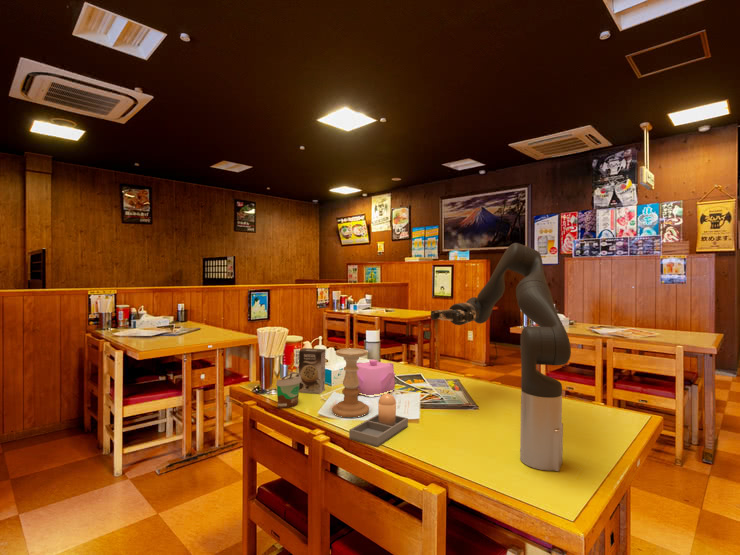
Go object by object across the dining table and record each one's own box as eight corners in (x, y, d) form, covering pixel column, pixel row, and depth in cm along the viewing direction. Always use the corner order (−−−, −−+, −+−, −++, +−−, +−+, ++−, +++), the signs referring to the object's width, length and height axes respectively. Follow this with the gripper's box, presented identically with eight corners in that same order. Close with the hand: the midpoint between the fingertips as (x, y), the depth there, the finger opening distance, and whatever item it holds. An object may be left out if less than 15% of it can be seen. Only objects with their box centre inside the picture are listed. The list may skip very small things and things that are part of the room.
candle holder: (368, 418, 125) (369, 355, 125) (330, 418, 126) (330, 354, 125) (369, 405, 138) (370, 347, 137) (334, 405, 138) (334, 347, 138)
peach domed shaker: (398, 425, 119) (399, 393, 119) (390, 430, 115) (390, 397, 114) (384, 421, 122) (384, 390, 122) (374, 426, 117) (375, 394, 117)
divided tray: (407, 426, 119) (407, 418, 119) (377, 447, 105) (377, 437, 105) (381, 420, 124) (381, 412, 124) (349, 438, 110) (349, 429, 110)
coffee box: (297, 392, 152) (298, 350, 152) (303, 388, 158) (303, 347, 158) (320, 394, 150) (321, 351, 150) (325, 389, 157) (325, 348, 156)
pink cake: (393, 385, 163) (394, 355, 163) (395, 398, 146) (395, 365, 146) (352, 385, 163) (352, 355, 163) (349, 398, 146) (349, 364, 146)
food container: (293, 411, 131) (293, 381, 131) (275, 409, 133) (276, 379, 133) (306, 399, 143) (306, 372, 143) (290, 398, 145) (290, 371, 145)
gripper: (443, 302, 146) (424, 304, 132) (482, 304, 138) (466, 307, 124) (443, 322, 146) (424, 327, 132) (481, 325, 138) (466, 330, 124)
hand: (444, 317), depth 128 cm, fingers open, 8 cm apart
